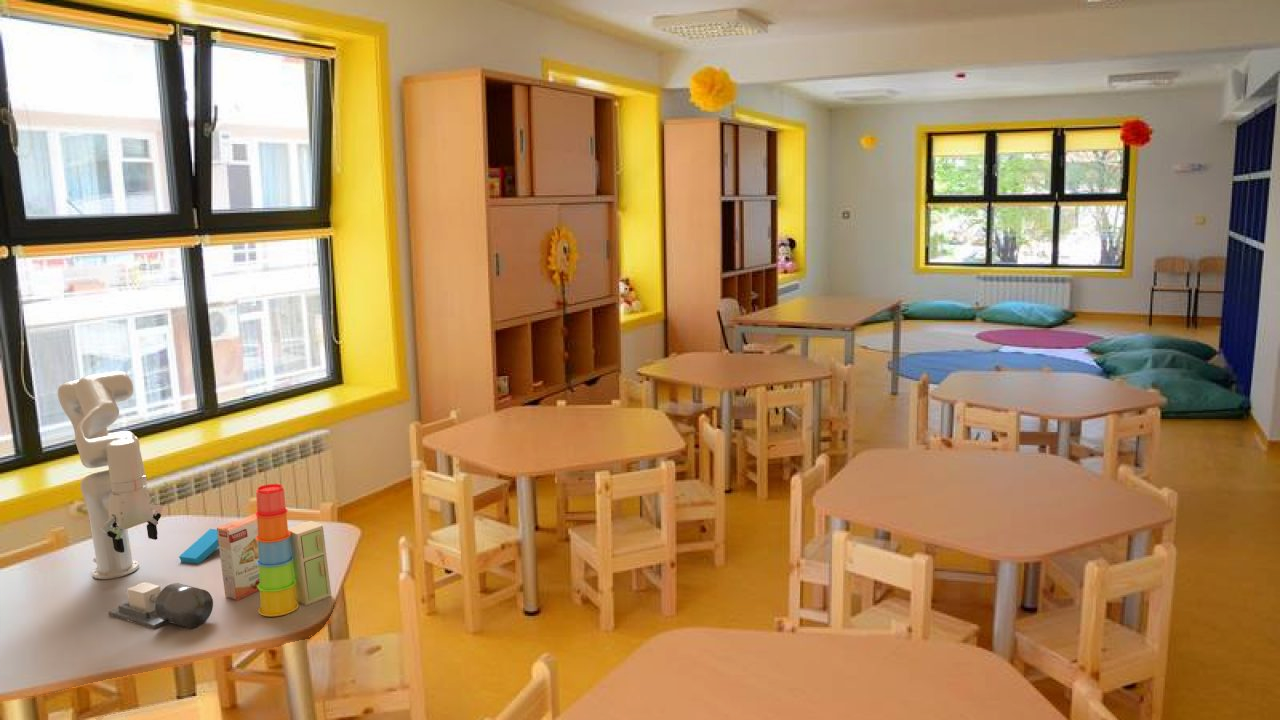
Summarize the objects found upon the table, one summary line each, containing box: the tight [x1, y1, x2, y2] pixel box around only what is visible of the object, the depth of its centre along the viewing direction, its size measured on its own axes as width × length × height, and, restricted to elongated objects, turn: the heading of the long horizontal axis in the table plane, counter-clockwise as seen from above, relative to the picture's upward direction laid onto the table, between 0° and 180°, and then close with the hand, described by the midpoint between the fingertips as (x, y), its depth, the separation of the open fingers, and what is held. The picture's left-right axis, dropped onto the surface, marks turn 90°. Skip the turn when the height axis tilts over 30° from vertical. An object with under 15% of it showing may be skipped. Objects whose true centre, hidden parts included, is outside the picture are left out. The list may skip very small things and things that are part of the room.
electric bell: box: [108, 582, 214, 630], centre depth 262 cm, size 30×12×10 cm, turn 61°
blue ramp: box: [178, 528, 219, 565], centre depth 308 cm, size 7×7×18 cm
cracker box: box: [216, 513, 260, 601], centre depth 275 cm, size 14×6×21 cm, turn 148°
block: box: [126, 581, 162, 612], centre depth 265 cm, size 9×5×6 cm, turn 61°
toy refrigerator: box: [288, 520, 332, 606], centre depth 267 cm, size 8×7×21 cm
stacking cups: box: [254, 483, 300, 617], centre depth 260 cm, size 10×10×35 cm
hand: (136, 545), depth 263 cm, fingers open, 9 cm apart
